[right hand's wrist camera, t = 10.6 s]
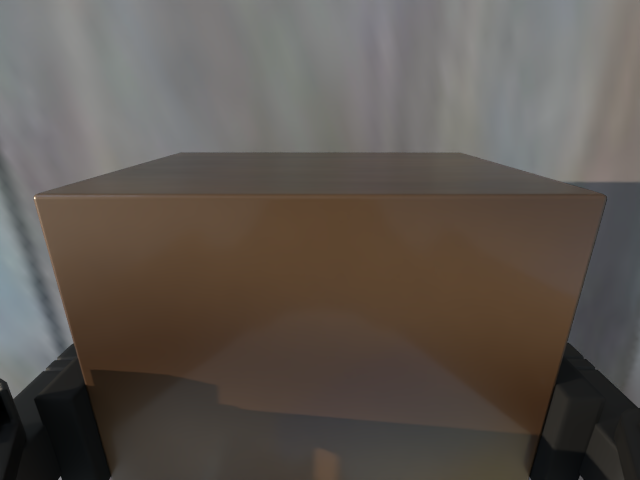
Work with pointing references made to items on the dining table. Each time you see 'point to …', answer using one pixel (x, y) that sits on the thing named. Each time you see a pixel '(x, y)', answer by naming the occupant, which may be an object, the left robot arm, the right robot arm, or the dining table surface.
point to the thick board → (320, 312)
